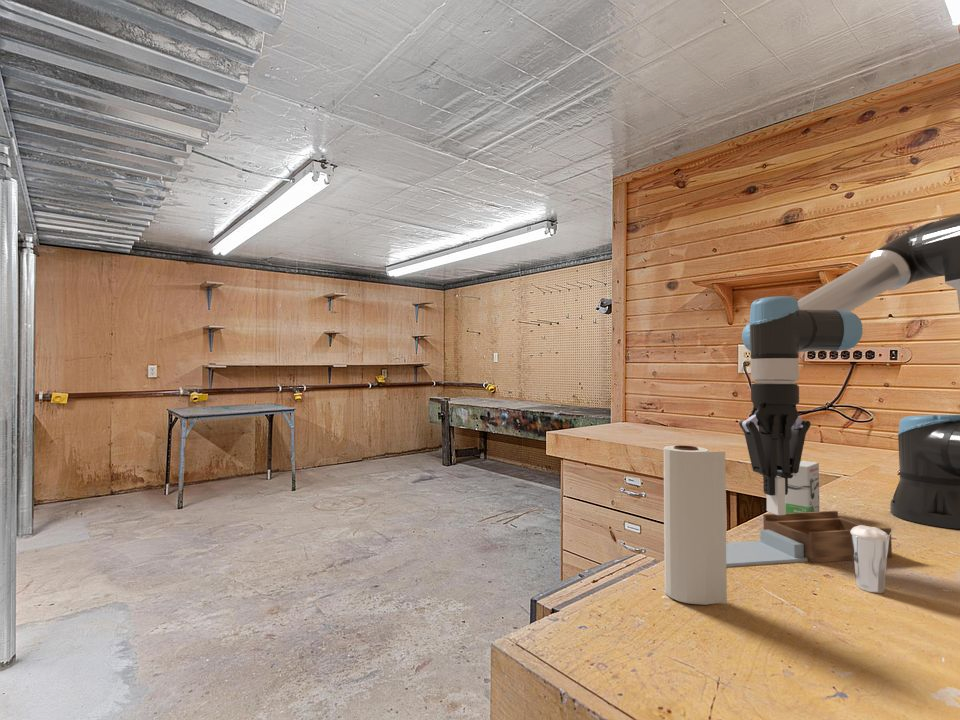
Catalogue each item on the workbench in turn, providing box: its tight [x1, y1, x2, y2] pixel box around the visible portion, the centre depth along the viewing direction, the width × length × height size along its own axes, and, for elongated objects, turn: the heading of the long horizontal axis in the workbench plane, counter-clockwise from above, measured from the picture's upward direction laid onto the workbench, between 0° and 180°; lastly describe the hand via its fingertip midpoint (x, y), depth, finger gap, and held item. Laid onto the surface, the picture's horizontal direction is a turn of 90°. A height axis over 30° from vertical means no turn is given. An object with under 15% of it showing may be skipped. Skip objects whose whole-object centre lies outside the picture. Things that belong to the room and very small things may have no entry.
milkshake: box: [850, 524, 895, 594], centre depth 72 cm, size 4×5×10 cm
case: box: [762, 510, 893, 564], centre depth 89 cm, size 16×11×5 cm
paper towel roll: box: [663, 444, 728, 606], centre depth 69 cm, size 7×6×21 cm
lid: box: [726, 529, 809, 568], centre depth 86 cm, size 16×9×3 cm, turn 99°
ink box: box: [785, 459, 820, 513], centre depth 111 cm, size 9×5×12 cm, turn 131°
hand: (775, 512), depth 87 cm, fingers closed
